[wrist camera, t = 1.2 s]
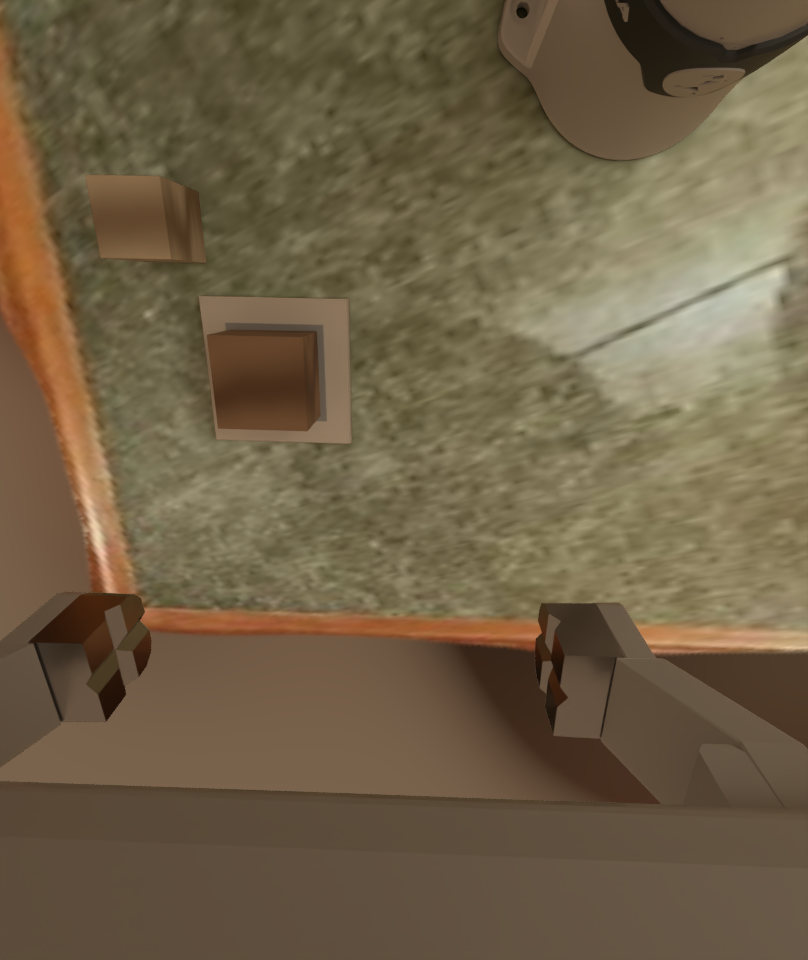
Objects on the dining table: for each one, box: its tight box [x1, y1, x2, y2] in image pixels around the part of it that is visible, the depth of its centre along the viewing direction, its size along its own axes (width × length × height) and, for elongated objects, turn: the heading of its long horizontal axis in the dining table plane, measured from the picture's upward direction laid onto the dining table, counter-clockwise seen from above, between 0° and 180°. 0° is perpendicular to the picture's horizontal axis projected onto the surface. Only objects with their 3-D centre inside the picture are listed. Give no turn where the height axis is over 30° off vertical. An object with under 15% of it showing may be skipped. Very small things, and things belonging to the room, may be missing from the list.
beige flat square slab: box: [199, 296, 352, 444], centre depth 42 cm, size 12×12×1 cm
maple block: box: [85, 175, 206, 263], centre depth 36 cm, size 5×5×6 cm
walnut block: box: [207, 329, 321, 431], centre depth 39 cm, size 7×7×5 cm
